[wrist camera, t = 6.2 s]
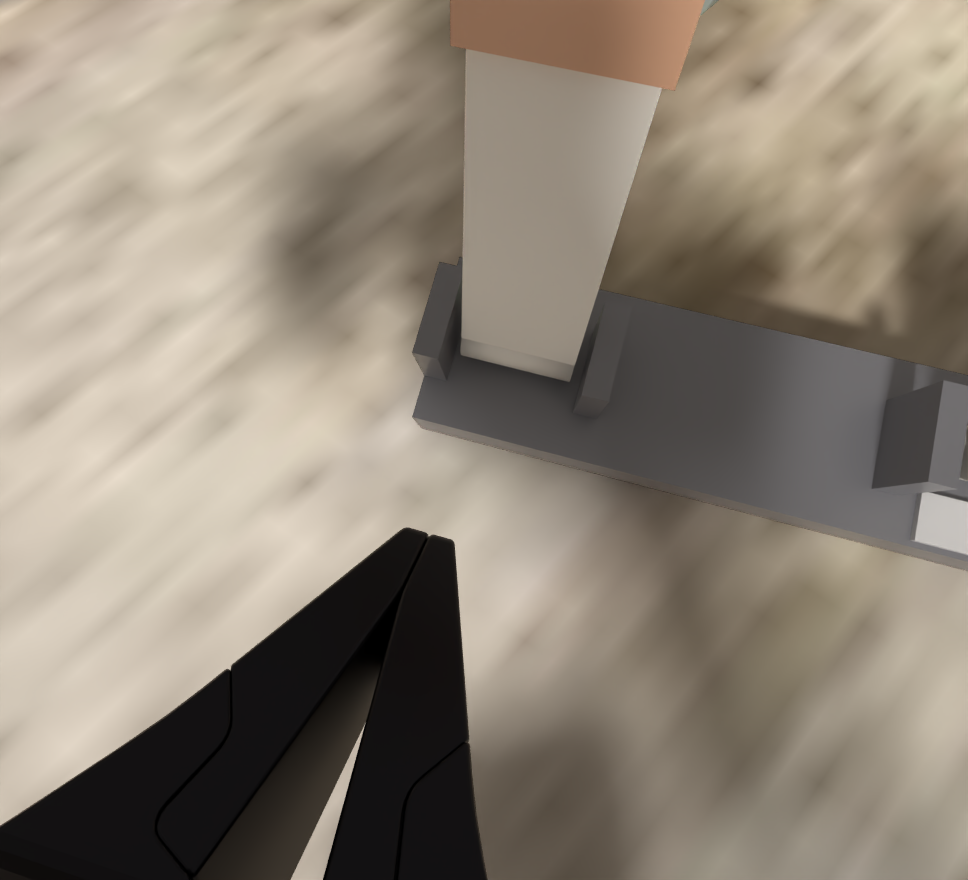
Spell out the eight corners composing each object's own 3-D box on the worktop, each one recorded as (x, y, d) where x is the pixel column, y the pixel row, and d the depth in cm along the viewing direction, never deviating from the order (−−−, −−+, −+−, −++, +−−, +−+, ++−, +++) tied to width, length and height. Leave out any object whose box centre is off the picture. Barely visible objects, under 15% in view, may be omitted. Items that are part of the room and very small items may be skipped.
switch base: (1006, 581, 19) (1153, 595, 15) (421, 427, 21) (397, 400, 17) (1028, 415, 20) (1172, 381, 16) (464, 281, 22) (452, 218, 18)
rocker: (571, 398, 18) (711, -21, 8) (452, 368, 19) (449, -69, 9) (582, 350, 19) (720, -79, 9) (469, 322, 20) (484, -120, 10)
